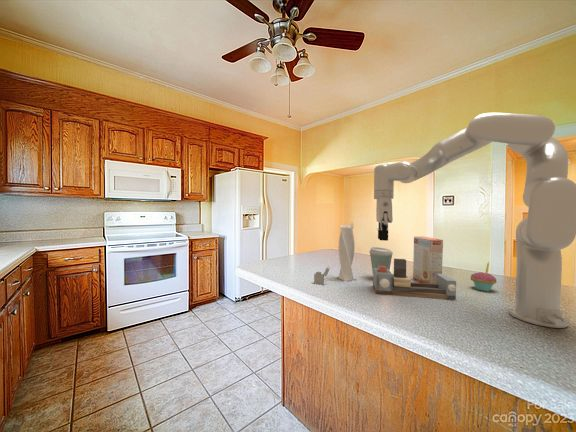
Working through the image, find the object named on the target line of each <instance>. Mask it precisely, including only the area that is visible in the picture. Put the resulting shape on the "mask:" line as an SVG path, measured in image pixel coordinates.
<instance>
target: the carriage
mask: <svg viewBox="0 0 576 432" xmlns="http://www.w3.org/2000/svg"><path fill="white" fill-rule="evenodd" d="M392 274H393V286H397V287H411V281H412V280H411V278H409V277H408V275H407V259H405V258H393V273H392Z"/></svg>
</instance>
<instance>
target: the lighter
mask: <svg viewBox="0 0 576 432" xmlns="http://www.w3.org/2000/svg"><path fill="white" fill-rule="evenodd" d="M330 270H331V267H330V266H327V267H326V268H325V270H324V272H323V273H322V271H316V272H315V273H314V274H313V284H314V283H316V284H315V285H322V286H323V285H324V284H325V277H327V276H328V273H329V272H330Z"/></svg>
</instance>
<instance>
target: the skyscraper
mask: <svg viewBox="0 0 576 432" xmlns="http://www.w3.org/2000/svg"><path fill="white" fill-rule="evenodd" d="M339 229H340V230H339V231H340V233H339V238H338V257H339V258H338V260H339V264H340V270H339V273H338V276H337V277H336V279H338V278H339V280H340V279H341V281H343V282H345V281H346V282H352V280H354V281H357V280H358V279H356V278H354V274H353V269H352V265H353V261H354V255H355V238H354V230H353V229H354V223H353V222H350V225H349V224H344V225H343V224H341V225H339Z"/></svg>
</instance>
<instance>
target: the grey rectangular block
mask: <svg viewBox="0 0 576 432" xmlns="http://www.w3.org/2000/svg"><path fill="white" fill-rule="evenodd" d="M436 284H438V289H444V290H446V295H447V299H446V300H449V299H448V295H451V296H452V297H453V296H456V297H457V281H456V280H455V279H453V278H452V277H450V276H448V275H446V274H445V273H442V274H436ZM452 297H451V299H452ZM449 298H450V296H449ZM451 299H450V300H451ZM452 300H453V301H455V300H454V297H453V299H452Z"/></svg>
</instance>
